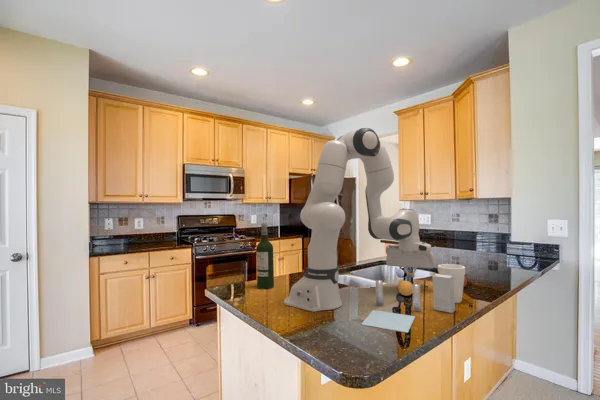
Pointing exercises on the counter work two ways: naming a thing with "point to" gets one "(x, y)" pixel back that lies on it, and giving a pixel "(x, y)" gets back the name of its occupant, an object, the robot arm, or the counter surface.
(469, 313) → the counter surface
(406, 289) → the ball
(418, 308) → the right post
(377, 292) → the left post
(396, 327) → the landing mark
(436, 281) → the skincare box
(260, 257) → the wine bottle
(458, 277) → the foam cup
